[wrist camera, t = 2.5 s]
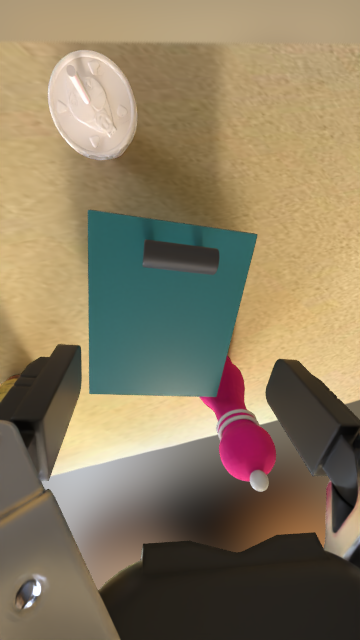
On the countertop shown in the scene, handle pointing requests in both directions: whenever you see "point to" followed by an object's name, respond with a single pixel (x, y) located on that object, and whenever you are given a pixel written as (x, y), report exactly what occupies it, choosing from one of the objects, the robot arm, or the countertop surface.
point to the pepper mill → (240, 432)
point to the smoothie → (92, 105)
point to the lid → (162, 304)
